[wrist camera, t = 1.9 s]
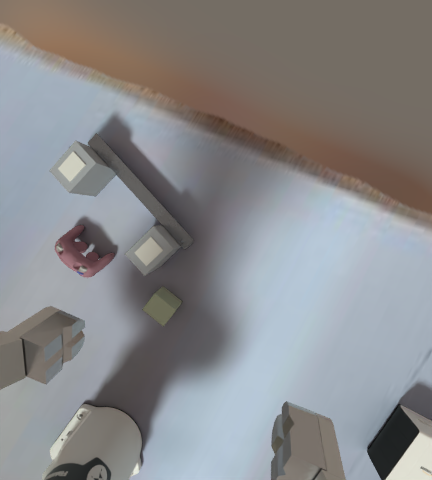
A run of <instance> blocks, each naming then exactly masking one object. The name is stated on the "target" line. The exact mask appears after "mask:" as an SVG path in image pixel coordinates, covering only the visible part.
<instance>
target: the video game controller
mask: <svg viewBox="0 0 432 480" xmlns="http://www.w3.org/2000/svg"><path fill="white" fill-rule="evenodd" d="M83 230H84V226H83V225H78V226H76V227H74V228H73V229H71V230H70V231H69V232H67V233H66V234H65V235H63V236H62V237H61V238H60V239H59V240H58V241H57V242H56V244H55V251H56V253H57V255H58V256H59V258H60V259H61V261H62V262H63V263H64V264H65V265H66V266H68V267H69V268H70V269H72V270H73V271H75V272H77V273H79V275H81V276H83V277H92V276H94V275H95V274H96V273H97V272H99V271H100V270H102V269H103V268H104V267H105V266H106V265H108V264H109V263H110V262H111V261H112V259H113V258H114V256H115V254H114V253H109V254H107V255H105V256H104V257H102V258H101V259H99V260H98V258H99V255H98V254H97V253H95V252H89V253H88V254H87V255H86V257H85V256H83V255H82V254H81V253H84V252H85V251H86V249H87V244H86V243H85V242H75V239H76V238H77V237H78V236H79V235H80V234H81V233H82V231H83Z"/></svg>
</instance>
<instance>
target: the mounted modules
mask: <svg viewBox="0 0 432 480" xmlns="http://www.w3.org/2000/svg"><path fill="white" fill-rule="evenodd" d="M50 172H51V173H52V174H53V176H54V177H55V178H56V179H57V180H58V181H59V182H60V183H61V184H62V185H63V187H64V188H65V189H66V190H67V191H68V192H69V193H75V194H82V195H89V196H97V195H98V194H99V193H100V191H101V190H102V189H103V188H104V187H105V186H106V185H107V184H108V183H109V182H110V181H111V180H112V179H113V178H114V177H115V175H116V174H115V173H114V171H113V170H112V169H111V168H110V167H109V166H108V165H107V164H106V163H105V161H104V160H103V159H102V158H101V157H100V156H99V155H98V154H97V153H96V152H95V150H94V149H93V148H91V147H89V146H87V145H84V144H82V143H80V142H78V141H75V142H74V143H73V144H72V145H71V147H70V148H69V149H68V150H67V151H66V152H65V153H64V155H63V156H62V157H61V158H60V159H59V160H58V161H57V163H56V164H55V165H54V166H53V167H52V168H51V169H50ZM181 247H182V246H181V245H180V244H179V243H178V242H177V241H176V240H175V239H174V237H173V236H172V235H171V234H170V233H169V232H168V231H167V230H166V229H165V228H164V226H163V225H159V226H153V227H152V228H151V229H150V230H149V231H148V232H147V233H146V234H145V235H144V236H143V237H142V238H141V239H140V240H139V241H138V242H137V243H136V244H135V245H134V246H133V247H132V248H130V249H129V250H128V251H127V252H126V253H125V255H126V256H127V257H128V258H129V259H130V261H131V262H132V263H133V264H134V265H135V266H136V267H137V268H138V269H139V271H140V272H141V273H142V274H143V275H144V276H146V275H147V274H149V273H151V272H153V271H154V270H156V269H158V268H159V267H161V266H162V265H163V264H164V263H165V262H166V261H167V260H168V259H169V258H170V257H171V256H172V255H173V254H174V253H175V252H177V251H178V250H179V249H180V248H181Z"/></svg>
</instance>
